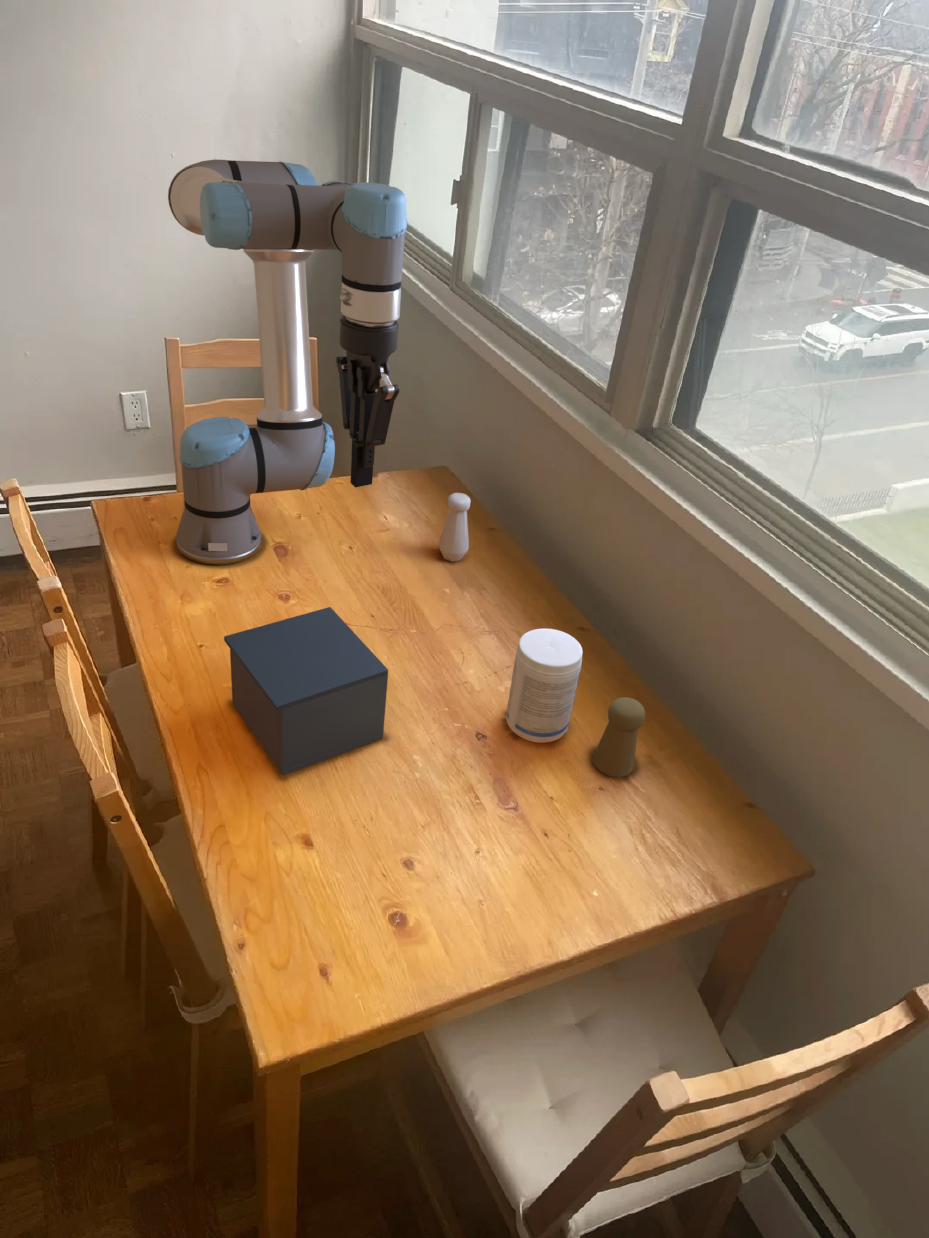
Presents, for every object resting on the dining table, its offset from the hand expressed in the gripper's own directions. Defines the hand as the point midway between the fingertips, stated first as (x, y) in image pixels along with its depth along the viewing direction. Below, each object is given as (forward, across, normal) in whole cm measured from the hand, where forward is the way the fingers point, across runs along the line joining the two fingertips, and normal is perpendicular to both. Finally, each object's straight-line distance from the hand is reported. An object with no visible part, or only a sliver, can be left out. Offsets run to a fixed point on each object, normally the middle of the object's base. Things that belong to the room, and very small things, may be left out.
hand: (361, 483), depth 129 cm
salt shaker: (+31, -18, +32) cm, 48 cm away
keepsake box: (+30, +12, -14) cm, 35 cm away
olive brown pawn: (+31, +40, +21) cm, 55 cm away
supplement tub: (+31, +28, +16) cm, 44 cm away
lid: (+18, +11, -14) cm, 26 cm away
